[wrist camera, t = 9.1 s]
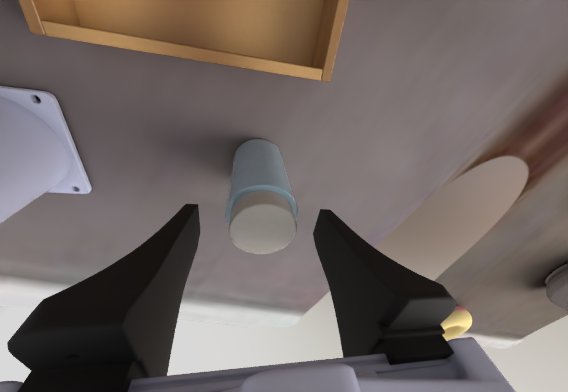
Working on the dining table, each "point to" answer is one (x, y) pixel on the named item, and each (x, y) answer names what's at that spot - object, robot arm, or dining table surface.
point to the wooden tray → (205, 30)
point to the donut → (456, 323)
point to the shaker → (260, 199)
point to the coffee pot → (558, 287)
